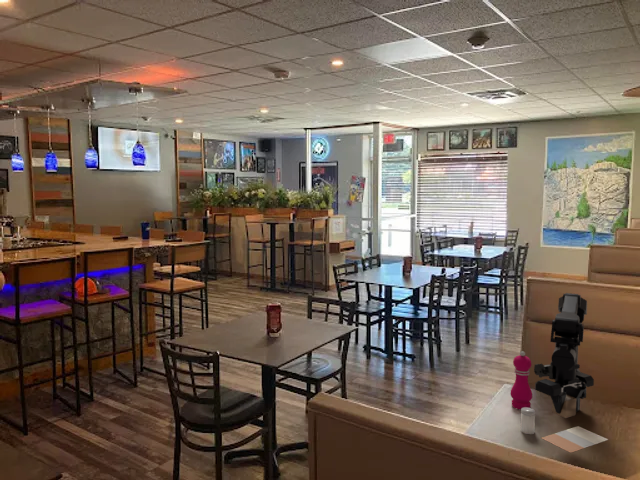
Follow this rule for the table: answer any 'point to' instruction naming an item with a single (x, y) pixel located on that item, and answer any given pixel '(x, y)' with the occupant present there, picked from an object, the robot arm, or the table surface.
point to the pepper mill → (521, 382)
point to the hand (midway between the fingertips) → (563, 411)
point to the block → (567, 407)
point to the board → (574, 439)
